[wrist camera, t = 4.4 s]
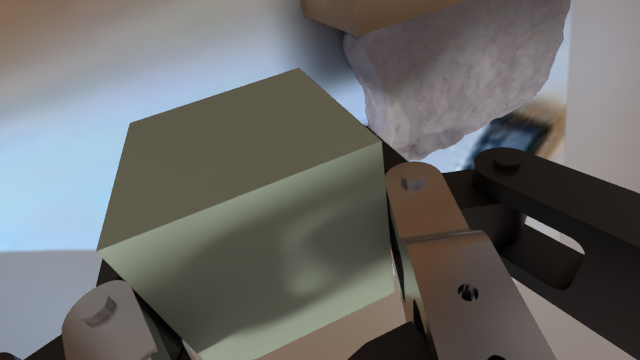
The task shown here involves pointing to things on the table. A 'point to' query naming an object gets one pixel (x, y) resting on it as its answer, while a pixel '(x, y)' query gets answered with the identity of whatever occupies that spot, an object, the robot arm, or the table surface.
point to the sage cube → (251, 216)
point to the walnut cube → (369, 12)
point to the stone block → (454, 69)
